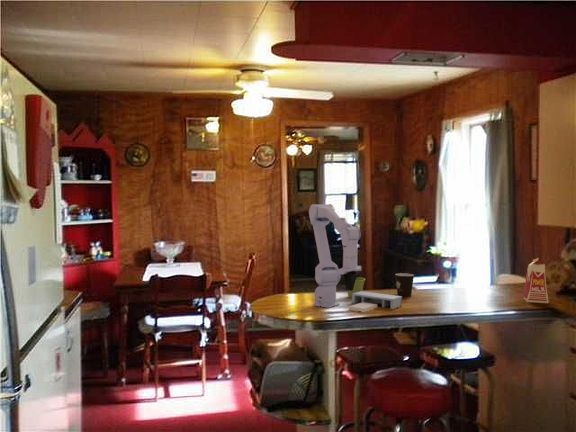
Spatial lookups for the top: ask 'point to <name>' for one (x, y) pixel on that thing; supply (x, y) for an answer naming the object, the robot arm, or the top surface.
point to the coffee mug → (404, 284)
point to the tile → (363, 307)
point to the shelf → (377, 299)
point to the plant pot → (357, 286)
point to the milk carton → (536, 283)
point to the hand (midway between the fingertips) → (349, 290)
